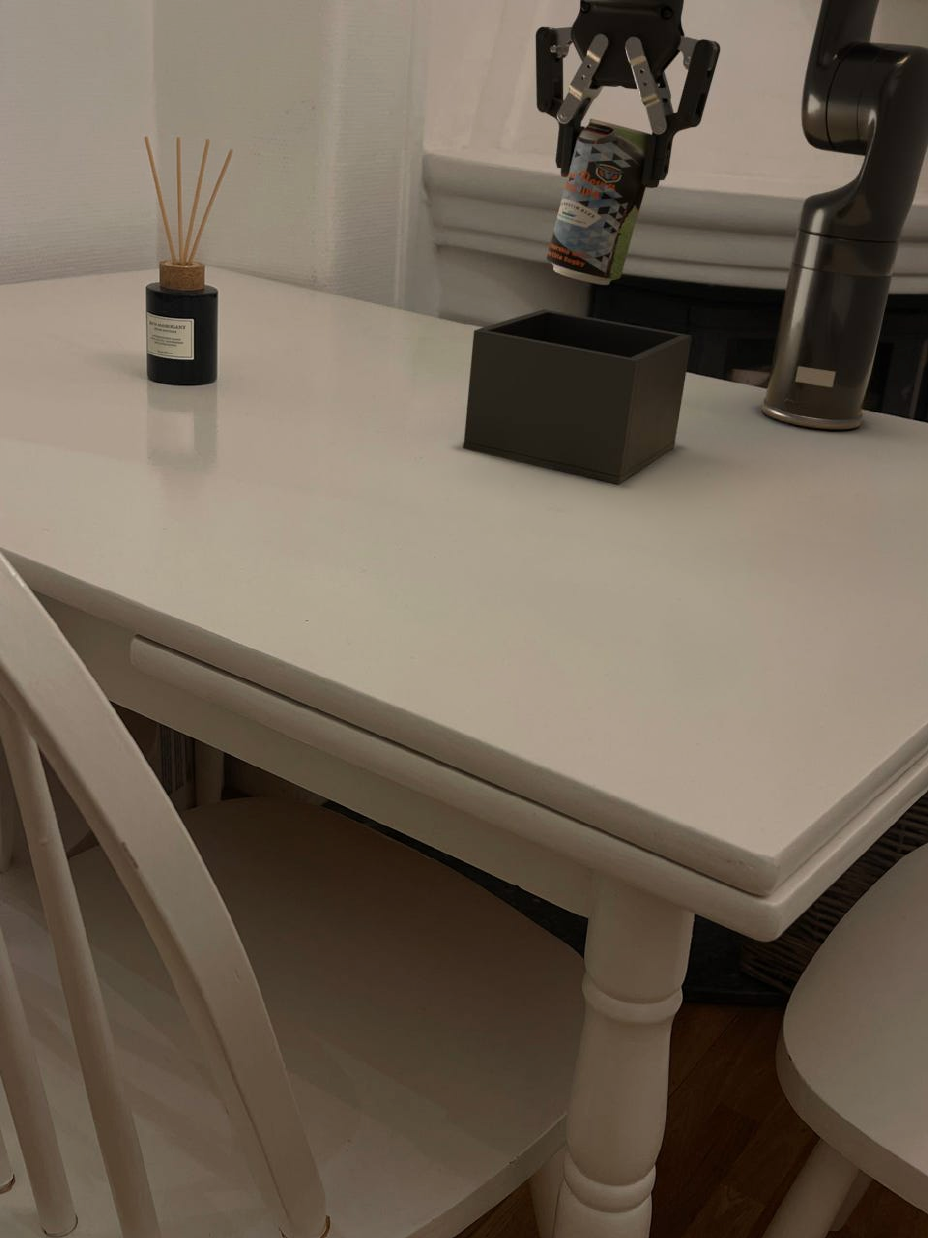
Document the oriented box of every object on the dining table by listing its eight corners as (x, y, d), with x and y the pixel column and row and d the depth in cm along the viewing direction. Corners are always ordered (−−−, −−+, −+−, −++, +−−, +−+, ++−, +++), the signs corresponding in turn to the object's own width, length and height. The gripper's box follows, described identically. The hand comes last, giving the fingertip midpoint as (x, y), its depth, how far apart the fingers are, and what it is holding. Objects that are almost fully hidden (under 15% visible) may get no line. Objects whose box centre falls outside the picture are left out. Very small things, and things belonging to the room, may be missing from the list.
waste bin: (531, 416, 114) (543, 308, 110) (674, 446, 108) (692, 335, 105) (462, 448, 102) (473, 329, 99) (618, 484, 97) (636, 360, 93)
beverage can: (531, 274, 101) (548, 113, 96) (610, 275, 104) (630, 119, 99) (568, 289, 96) (588, 120, 91) (650, 290, 99) (674, 126, 94)
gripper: (752, -55, 90) (713, 191, 97) (567, -65, 96) (542, 169, 102) (722, -68, 84) (683, 196, 91) (526, -77, 89) (503, 172, 96)
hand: (608, 180), depth 97 cm, fingers closed on beverage can, 6 cm apart
